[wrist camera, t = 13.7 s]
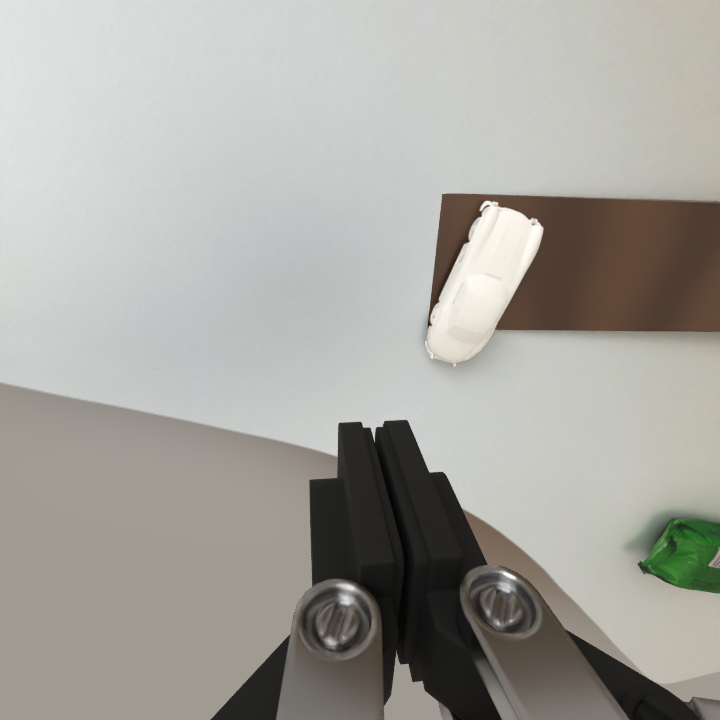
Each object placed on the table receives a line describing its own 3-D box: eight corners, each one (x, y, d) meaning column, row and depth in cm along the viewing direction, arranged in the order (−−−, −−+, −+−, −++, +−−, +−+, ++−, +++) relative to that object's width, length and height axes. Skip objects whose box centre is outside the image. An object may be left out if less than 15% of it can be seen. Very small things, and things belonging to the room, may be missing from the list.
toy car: (539, 221, 31) (564, 228, 28) (465, 364, 35) (478, 384, 32) (480, 196, 30) (499, 200, 26) (411, 346, 34) (420, 365, 31)
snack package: (655, 502, 46) (695, 541, 41) (758, 524, 50) (806, 562, 45) (618, 548, 49) (652, 590, 44) (719, 565, 52) (760, 606, 48)
